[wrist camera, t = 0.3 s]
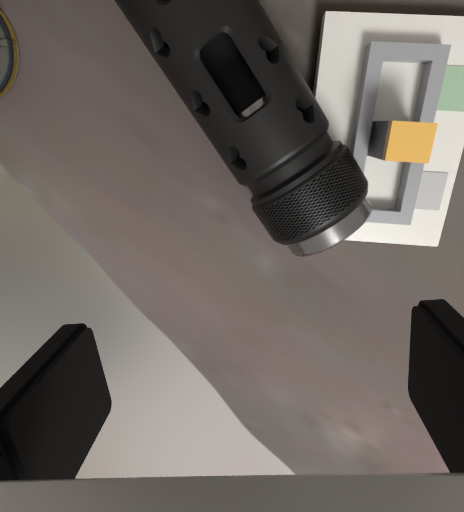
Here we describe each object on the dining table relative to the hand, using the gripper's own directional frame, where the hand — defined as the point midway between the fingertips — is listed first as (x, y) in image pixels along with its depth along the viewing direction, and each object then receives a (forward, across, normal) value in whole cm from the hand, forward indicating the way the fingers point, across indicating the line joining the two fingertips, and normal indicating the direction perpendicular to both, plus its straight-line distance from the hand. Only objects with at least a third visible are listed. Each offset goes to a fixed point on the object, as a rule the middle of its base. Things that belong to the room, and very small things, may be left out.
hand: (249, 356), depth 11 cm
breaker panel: (+30, -12, -4) cm, 32 cm away
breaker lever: (+28, -12, -4) cm, 30 cm away
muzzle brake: (+30, 0, -9) cm, 31 cm away
